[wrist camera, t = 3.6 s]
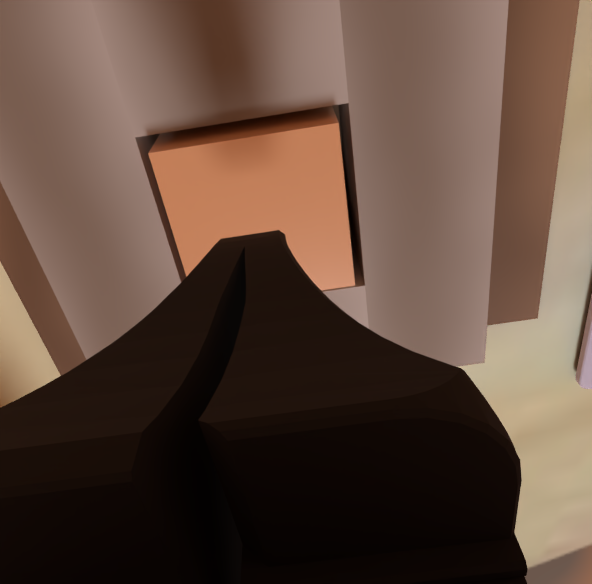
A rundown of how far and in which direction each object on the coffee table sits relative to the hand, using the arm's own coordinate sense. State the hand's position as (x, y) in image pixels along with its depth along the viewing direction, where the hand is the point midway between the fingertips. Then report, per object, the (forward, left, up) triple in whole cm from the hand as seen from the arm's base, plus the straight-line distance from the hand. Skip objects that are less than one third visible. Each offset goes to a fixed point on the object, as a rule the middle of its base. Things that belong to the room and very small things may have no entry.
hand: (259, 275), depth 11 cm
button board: (0, 0, -6) cm, 6 cm away
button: (0, 0, -5) cm, 5 cm away
